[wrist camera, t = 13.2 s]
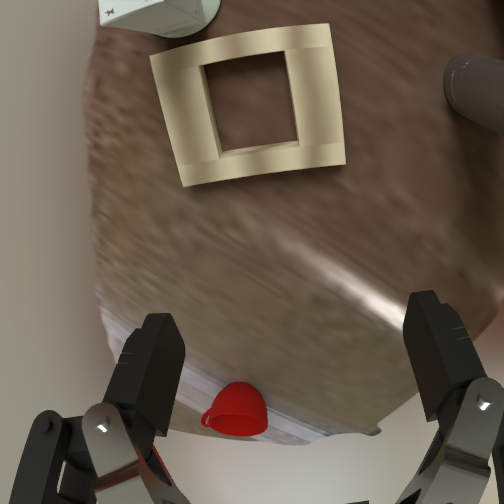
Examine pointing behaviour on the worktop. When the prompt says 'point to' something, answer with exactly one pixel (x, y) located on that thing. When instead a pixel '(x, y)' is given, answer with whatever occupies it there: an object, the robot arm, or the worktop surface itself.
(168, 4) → the skincare box
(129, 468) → the robot arm
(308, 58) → the pocket board
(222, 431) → the ceramic cup
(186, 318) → the worktop surface
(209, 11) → the pale green disc
